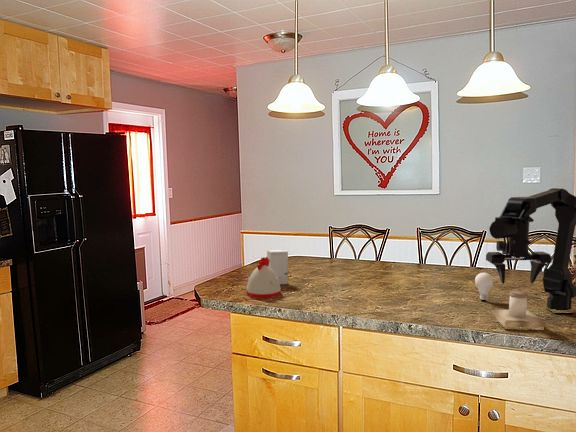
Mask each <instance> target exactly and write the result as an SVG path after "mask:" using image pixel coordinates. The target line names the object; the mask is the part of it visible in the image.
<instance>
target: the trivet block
mask: <svg viewBox="0 0 576 432" xmlns="http://www.w3.org/2000/svg"><path fill="white" fill-rule="evenodd" d="M490 315H492V316H493V317H495V318H496V319H497V320H498V321H499V322H500V323H501V324H502V325H503V326H505V327H528V326H529V327H533V326H534V327H545V328H546V322H544V320H543V319H541V318H540V317H539V316H538V315H536V314H535V313H533V312H531V311H530V310H529V309H526V317H514V316H511V315H509V309H492V310H491V313H490Z"/></svg>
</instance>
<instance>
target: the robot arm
mask: <svg viewBox="0 0 576 432" xmlns="http://www.w3.org/2000/svg"><path fill="white" fill-rule="evenodd" d="M549 205H550V206H551V207H552V208H553V209H554V210H555V211H554V216H555V218H556V221H557V223H558V228H557V233H556V239H555V244H554V249H553V250H554V251H553V254H552V255H553V257H552V255H551V254H550V253H548V252H545V251H532V252H531V253H530V252H529V245H530V244H531V240H530V239H529V238H530V237H529V236H530V223H534V221H535V220H534V218H532V217H531V215H533V214H535V213H536V212H537V209H539V208H543V207H545V206H549ZM501 211H502V212H500V215H499V216H495V218H494V221H493V222H492V223H491V224H490V226H489V234H490V235H491V237H492V238H493V239H496V240H498V241H496V246H495V248H496V251H487V253H486V255H485V260H486V261H488V262H489V263H490V264H492V265H494V266H495V268H496V270H497V273H498V276H499V279H500V281H501V284H505V281H506V264H505V263H504V262H505V261H529V262H530V276H529V277H530V279H529V280H530V281H529V283H530V284H534V283H535V281H536V280H537V278H538V275H539V274H540V272H541V271H542V270H543V269H544V270H543V276H542V284H543V288H544V292H545V293H547V294H548V296H547V298H546V299H547V300H546V307H548V308H550V309H556V310H569V309H571V310H572V303H573V302H572V299H573V298H576V286H575V285H574V283H573V274H572V272H571V270H570V268H569V266H570V265H569V264H570V260H571V253H572V249H573V248H572V247H573V243H574V242H573V241H574V236H575V229H576V195H574V194H572V193H570V192H569V191H568V190H566V189H565V188H559V187H557V188H556V187H555V188H553V187H552V188H550V189H548V190H546V191H542V192H539V193H536V194H531V195H528V196H513V197H510V198H509V199H508V200H507V202H506V203H505V206H504V208H503V209H502V210H501ZM500 239H506V242H505V241H504V240H500ZM548 264H551V265H550V266H549V267H548V268H544V267H545V266H548Z"/></svg>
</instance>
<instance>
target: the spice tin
mask: <svg viewBox="0 0 576 432" xmlns="http://www.w3.org/2000/svg"><path fill="white" fill-rule="evenodd" d="M528 295H529V294H528V293H527V292H525V291H516V290H515V291H514V290H512V291H509V303H508V310H509V315H511V316H514V317H526V310H527V308H528V307H527V304H528Z"/></svg>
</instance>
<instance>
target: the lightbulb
mask: <svg viewBox="0 0 576 432" xmlns="http://www.w3.org/2000/svg"><path fill="white" fill-rule="evenodd" d="M474 283H475V285H476V287H477V288H478V292H479V300H480V299H482V300H486V299H487V300H488V293H489V292H490V289H491V288H492V286H493V284H494V279H493V277H492V275H491V274H489V273H488V272H479V273H478V274H476V275H475V278H474ZM487 300H486V301H487Z"/></svg>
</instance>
